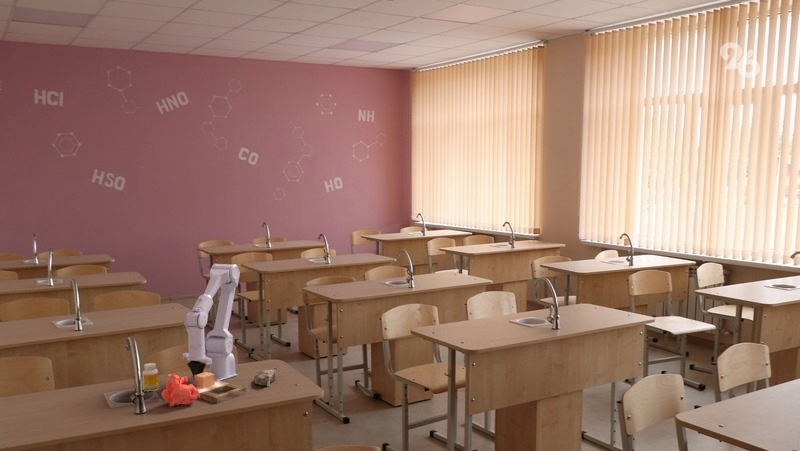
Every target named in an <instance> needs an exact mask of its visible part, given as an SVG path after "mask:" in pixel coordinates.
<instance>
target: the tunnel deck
mask: <svg viewBox="0 0 800 451" xmlns="http://www.w3.org/2000/svg"><path fill="white" fill-rule="evenodd" d="M187 377H188V378H187V379H188V382H185V381H184V383H181V385H183V384H185V385H187V386H188V385H189V384H192V385H193V386H194V387H196V386H195V381H194V378H193V375H190V376H187ZM181 378H182V377H180V376H179V379H181ZM171 386H172V385H171ZM196 389H197V390H198V393H197V399H201V400H204V401H207V402H211V403H214V404H220V403H222V402H225V401H228V400H230V399H233V398H236V397H239V396H242V395H244V394H247V388H246V387H244V386H241V385H237V384H233V383H229V382H226V381H223V380H221V381H218V380H215V385H213V386H210V387H207V388H200V387H196ZM190 392H191V390H190ZM191 393H192V392H191Z"/></svg>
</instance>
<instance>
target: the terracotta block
mask: <svg viewBox="0 0 800 451" xmlns="http://www.w3.org/2000/svg"><path fill="white" fill-rule="evenodd" d="M194 380H195V386H196V387H200V388H207V387H210V386H213V385H215V377H214V374H212V373H210V372H207V371H203V373H200V374H197V375H194Z"/></svg>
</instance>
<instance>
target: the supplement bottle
mask: <svg viewBox="0 0 800 451" xmlns="http://www.w3.org/2000/svg"><path fill="white" fill-rule="evenodd" d="M143 367H144V370H143V371H142V390H145V391H154V392H156V391H158V390H159V386H160V385H159V383H160V382H159V370H158V369H157V363H155V362H149V363H145V364H144V365H143ZM145 391H144V392H145Z"/></svg>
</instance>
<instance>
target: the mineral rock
mask: <svg viewBox="0 0 800 451" xmlns="http://www.w3.org/2000/svg"><path fill="white" fill-rule="evenodd" d="M275 380H276V368H275V369H262V370H260V371H259V372H258V373H256V374H255V375H254V378H253V381H254V383H255V384H256V385H259V386H266V387H270V386H271V383H272V382H273V381H275Z"/></svg>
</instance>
